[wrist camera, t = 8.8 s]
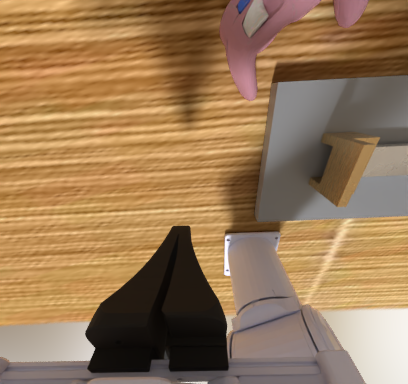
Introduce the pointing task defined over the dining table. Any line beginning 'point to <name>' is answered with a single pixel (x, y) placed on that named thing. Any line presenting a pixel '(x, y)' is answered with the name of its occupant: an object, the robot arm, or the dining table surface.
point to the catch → (344, 165)
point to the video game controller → (267, 31)
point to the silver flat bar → (388, 161)
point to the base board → (329, 146)
